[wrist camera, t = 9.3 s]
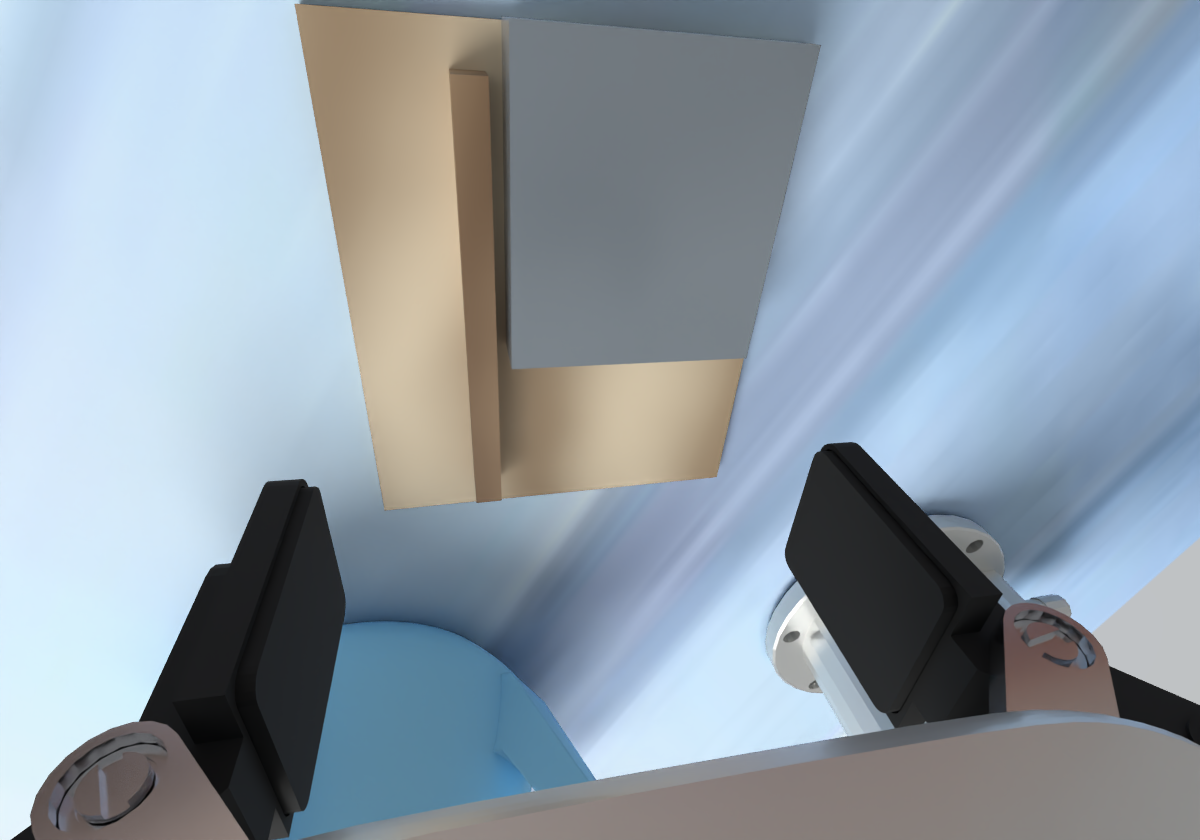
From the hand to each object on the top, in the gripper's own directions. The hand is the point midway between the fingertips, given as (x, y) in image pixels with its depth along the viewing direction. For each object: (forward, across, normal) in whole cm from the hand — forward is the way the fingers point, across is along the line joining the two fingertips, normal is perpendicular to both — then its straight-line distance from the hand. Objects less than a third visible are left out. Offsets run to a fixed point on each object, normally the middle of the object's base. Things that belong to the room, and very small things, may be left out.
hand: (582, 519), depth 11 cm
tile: (+7, +1, -4) cm, 8 cm away
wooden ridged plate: (+8, -1, -1) cm, 8 cm away
